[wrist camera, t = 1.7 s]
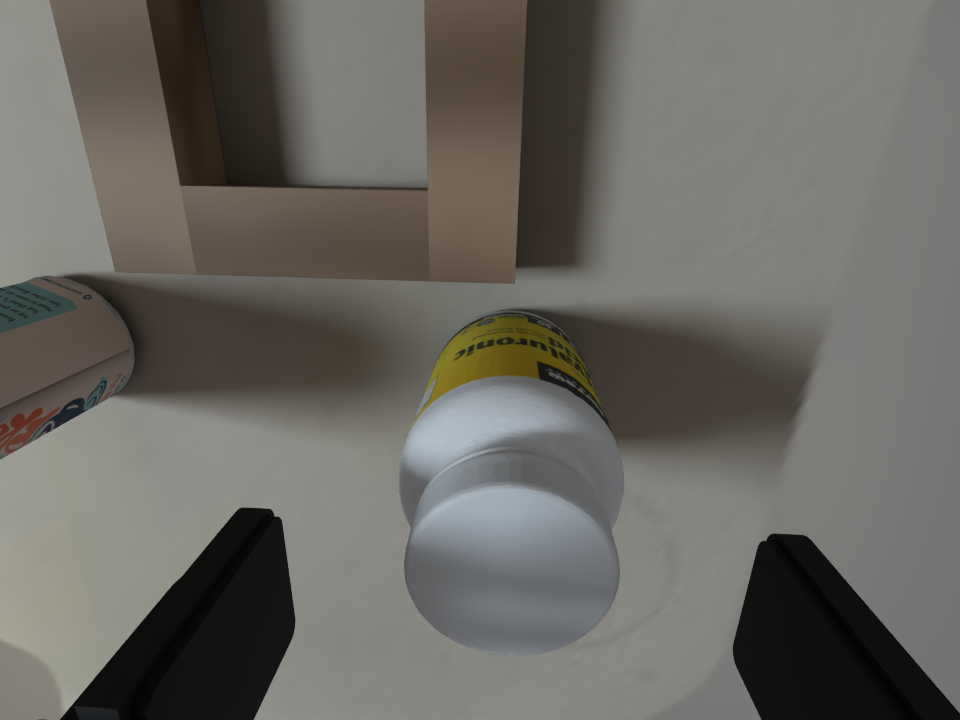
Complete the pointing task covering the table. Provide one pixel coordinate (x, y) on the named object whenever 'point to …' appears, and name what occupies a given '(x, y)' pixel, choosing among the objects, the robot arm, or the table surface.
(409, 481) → the supplement bottle
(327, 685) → the table surface
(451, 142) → the wooden frame
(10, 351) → the beer can
